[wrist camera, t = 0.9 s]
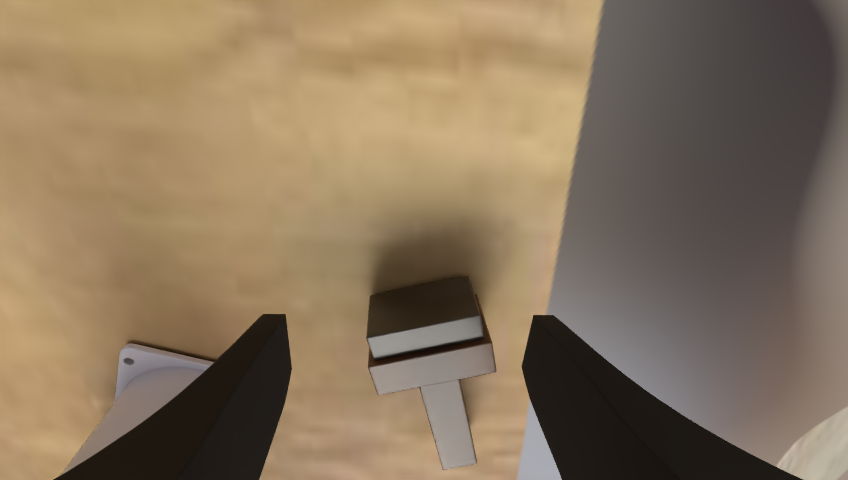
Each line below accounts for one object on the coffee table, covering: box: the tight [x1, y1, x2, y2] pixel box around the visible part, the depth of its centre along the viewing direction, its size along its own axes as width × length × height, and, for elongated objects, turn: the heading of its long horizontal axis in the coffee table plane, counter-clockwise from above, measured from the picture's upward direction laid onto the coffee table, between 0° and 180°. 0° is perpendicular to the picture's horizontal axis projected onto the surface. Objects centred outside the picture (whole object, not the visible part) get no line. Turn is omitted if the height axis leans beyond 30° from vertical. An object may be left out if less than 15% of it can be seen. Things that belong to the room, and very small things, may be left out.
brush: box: [366, 276, 496, 470], centre depth 23 cm, size 6×12×4 cm, turn 11°
